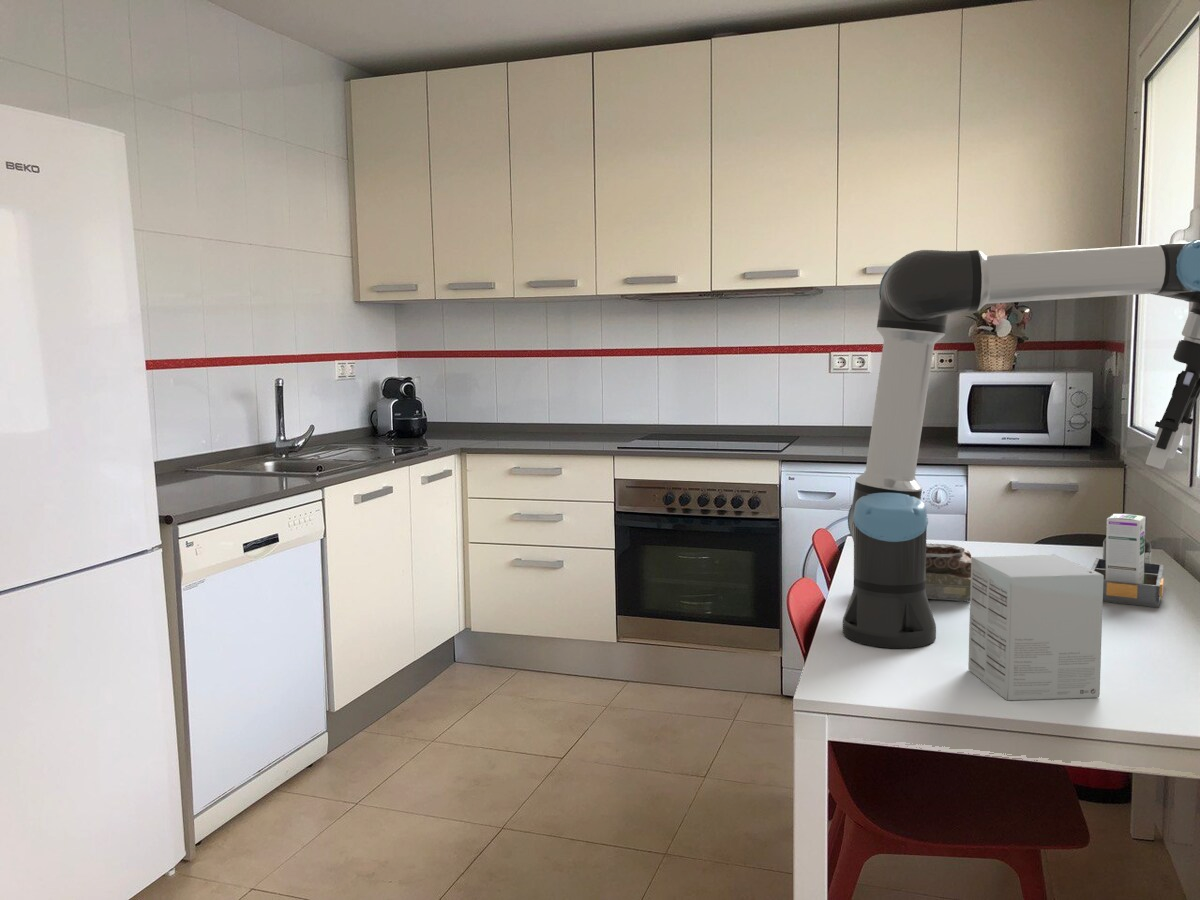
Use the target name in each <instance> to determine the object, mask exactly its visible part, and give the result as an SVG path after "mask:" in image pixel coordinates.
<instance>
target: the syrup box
mask: <svg viewBox="0 0 1200 900" xmlns="http://www.w3.org/2000/svg"><path fill="white" fill-rule="evenodd" d="M1112 514H1113V515H1112V516H1110V515H1109V516H1108V517H1107V518H1106V535H1105V536H1106V537H1105V538H1106V574H1105V580H1109V581H1119V582H1128V583H1138V584H1144V565H1145V538H1146V534H1145V517H1146V515H1143V516H1141V514H1137V515H1133V514H1134V513H1124V514H1121V513H1118V514H1117V513H1112Z"/></svg>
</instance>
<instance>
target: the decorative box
mask: <svg viewBox="0 0 1200 900" xmlns="http://www.w3.org/2000/svg"><path fill="white" fill-rule="evenodd" d="M971 557H972V555H971V552H970V551H969V550H966V549H965V548H964V547H962V546H958V545H955V544H946V543H926V596H927V599H928V600H937V601H938V600H939V601H940V600H941V601H957V602H958V601H959V602H969V603H970V589H971Z"/></svg>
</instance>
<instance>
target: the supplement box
mask: <svg viewBox="0 0 1200 900" xmlns="http://www.w3.org/2000/svg"><path fill="white" fill-rule="evenodd" d="M1103 580H1104V575H1102V574H1100V573H1098V572H1096V571H1093V570H1091V568H1089V567H1086V566H1083V565H1080V564H1079V563H1076V562H1075V561H1071V560H1069V559H1067V558H1064V557H1062V556H1059V555H1057V554H1037V555H1036V554H1035V555H1005V556H1002V555H1001V556H971V589H970V602H969V630H968V631H969V632H968V662H967V663H968V670H969V671H970V672H971V673H972V674H974V675H975V676H976V677H978V679H980V680H981V681H982V682H983V683H985V684H986V685H987V686H988V687H990V689H992V690H993V691H994V692H996V693H997V694H998V695H999V696H1001V697H1002V698H1003V699H1004V700H1005V701H1032V700H1061V699H1062V700H1063V699H1064V700H1067V699H1068V700H1069V699H1092V698H1096V699H1097V698H1099V697H1100V696H1101V695H1100V694H1101V670H1102V669H1101V663H1102V635H1103V634H1102V632H1103V631H1102V630H1103V603H1104V602H1103Z"/></svg>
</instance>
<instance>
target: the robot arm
mask: <svg viewBox="0 0 1200 900" xmlns="http://www.w3.org/2000/svg"><path fill="white" fill-rule="evenodd" d="M878 294H879V301H880V302H879V307H878V308H879V310H878V315H877V323H876V330H877V332H878V333H879V334H880V336H882V338H883V344H882V351H881V359H880V364H879V365H880V366H879V373H878V381H877V387H876V394H875V402H874V409H873V416H872V423H871V431H870V437H869V445H868V451H867V458H866V459H867V460H866V467H865V470H864V472H863V473H862V474H860V475H858V476H857V477H856V478H855V483H854V490H853V497H852V503H851V505H850V508H849V510H848V514H847V525H848V527H847V528H848V530H849V534H850V536H851V537H852V542H853V587H852V591H851V595H850V598H849V601H848V604H847V607H846V609H845V612H844V615H843V617H842V634H843V636H844V637H846V638H847V639H849V640H852V641H853V642H855V641H856V642H855V643H858V642H859V644H862V643H863V644H862V645H866V644H868V645H867V646H871V645H872V647H878V648H886V649H887V648H889V649H911V648H919V647H924V646H927V645H931V644H932V643H934V642H935V641H936V638H937V624H936V621H935V618H934V615H933V611H932V609H931V605H930V603H929V599H928V598H927V596H926V544H927V533H928V532H927V528H928V525H929V518H928V515H927V514H928V513H927V507H926V504H925V503H924V501H923V500H922V492H923V487H922V485H921V484H920V483H919V482H918V481H917V479H916V473H917V472H916V471H917V464H918V457H919V450H920V444H921V437H922V431H923V424H924V423H923V422H924V417H925V409H926V404H927V403H926V402H927V395H928V389H929V383H930V376H931V371H932V364H933V363H932V362H933V356H934V348H935V345H936V343H937V342H939V340H941V339H942V338H944V337H945V336H946V330H947V329H946V328H947V322H948V317H949V315H951V314H956V313H963V312H977V311H978V312H979V311H980V310H981V309H982V308H983V307H984V306H985V305H988V304H1005V303H1021V302H1031V301H1032V302H1035V301H1036V302H1037V301H1039V302H1040V301H1053V300H1055V301H1056V300H1066V299H1069V300H1071V299H1084V298H1086V299H1087V298H1099V297H1104V298H1105V297H1115V296H1116V297H1117V296H1119V297H1121V296H1131V295H1132V296H1133V295H1135V296H1136V295H1155V296H1159V297H1164V298H1170V299H1175V300H1179V301H1180V300H1181V301H1184V302H1188V303H1192V306H1191V309H1190V311H1189V312H1188V314H1187V315H1188V316H1187V318H1186V319H1185V320H1186V321H1185V323H1184V326H1183V328H1182V331H1181V335H1182V336H1183V338H1181V339H1180V340H1179V341H1178V343H1177V345H1176V348H1175V351H1174V354H1173V360H1175V361H1176V362H1177V363H1182V364H1186V365H1187V366H1186V367H1185V369H1184V370H1182V371H1180V373H1178V374H1177V376H1176V379H1175V385H1174V387H1173V389H1172V392H1171V397H1170V399H1169V401H1168V404H1167V407H1166V408H1165V411H1164V413H1163V415H1162V418H1161V419H1160V421H1157V420H1156V421H1155V424H1154V427H1155V428H1158V430H1157V432H1156V434H1155V438H1154V440H1153V442H1152V444H1151V445H1152V446H1151V448H1150V450H1149V453H1148V456H1147V458H1146V461H1145V465H1147V466H1151V467H1154V468H1157V469H1160V470H1164V468H1165V465H1166V463H1167V461H1168V459H1171V460H1174V458H1175V455H1176V453H1177V451H1178V447H1179V446H1180V443H1181V440H1182V438H1183V435H1184V433H1185V430H1186V427H1187V425H1189V426H1190V425H1192V424H1193V421H1194V418H1192V412H1193V410H1194V406H1195V403H1196V402H1197V401H1196V400H1198V399H1199V396H1200V239H1194V240H1192V241H1189V242H1174V243H1172V242H1171V243H1163V244H1137V245H1129V246H1127V245H1126V246H1114V247H1113V246H1112V247H1111V246H1110V247H1101V248H1100V247H1099V248H1098V247H1097V248H1087V249H1086V248H1082V249H1070V250H1069V249H1068V250H1053V251H1040V252H1025V253H1012V254H1008V253H1007V254H997V255H996V254H995V255H985V254H984V253H983V252H982V251H981V250H979V249H974V250H939V249H937V250H936V249H935V250H934V249H921V250H915V251H912V252H909V253H907V254H906V255H904V256H902V257H901V258H900V259H899V258H898V260H896V261H895V262H893V263H892V264H891V265H890V266H889V267H888V268H887V270H886V271H884V274H883V275H882V278H881V281H880V284H879V288H878Z"/></svg>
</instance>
